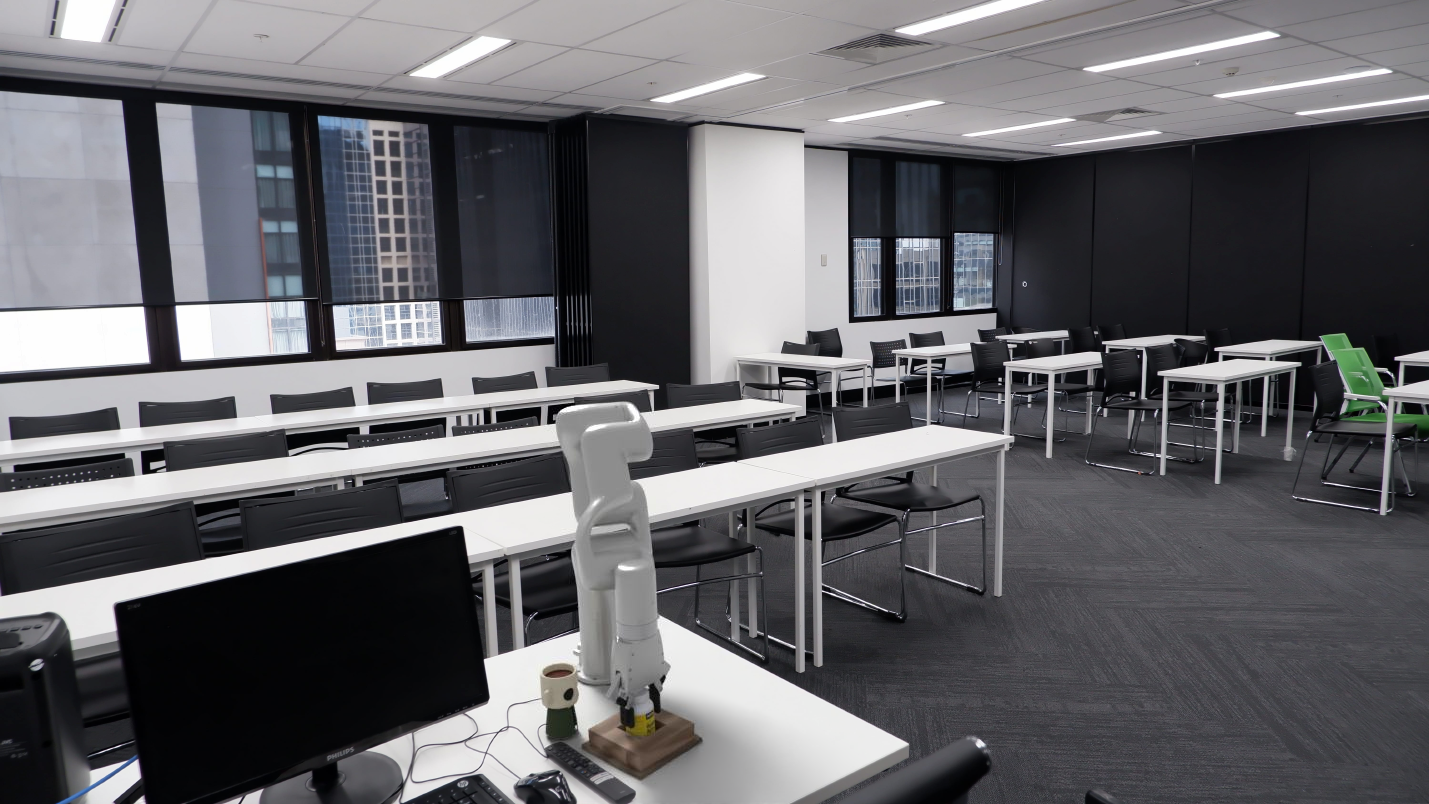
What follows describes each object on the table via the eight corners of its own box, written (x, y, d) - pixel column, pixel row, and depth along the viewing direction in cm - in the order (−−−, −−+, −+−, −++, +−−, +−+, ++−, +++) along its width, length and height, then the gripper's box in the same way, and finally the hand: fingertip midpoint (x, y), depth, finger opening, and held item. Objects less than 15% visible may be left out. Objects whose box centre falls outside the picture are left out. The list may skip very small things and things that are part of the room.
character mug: (565, 751, 160) (562, 685, 158) (531, 745, 162) (527, 681, 160) (591, 721, 170) (588, 659, 168) (558, 716, 172) (555, 655, 170)
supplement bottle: (651, 748, 158) (647, 699, 156) (623, 747, 159) (619, 698, 158) (659, 732, 163) (655, 684, 162) (632, 731, 164) (628, 683, 163)
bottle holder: (581, 748, 161) (580, 729, 160) (643, 713, 172) (642, 696, 172) (640, 780, 150) (639, 760, 149) (702, 741, 162) (701, 722, 161)
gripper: (656, 607, 166) (659, 694, 169) (587, 637, 154) (592, 730, 157) (684, 617, 161) (687, 706, 164) (615, 649, 149) (620, 745, 152)
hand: (640, 717), depth 160 cm, fingers open, 6 cm apart
